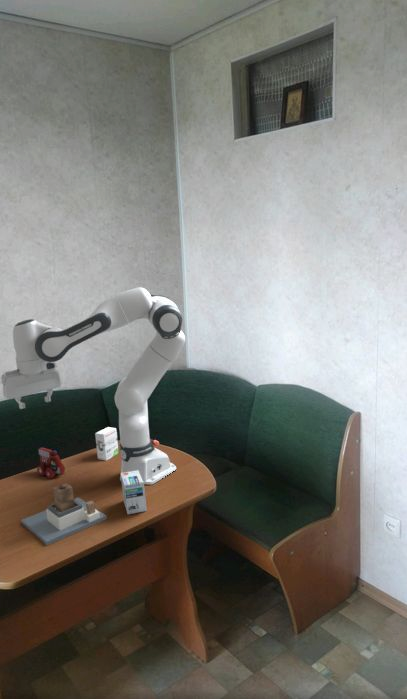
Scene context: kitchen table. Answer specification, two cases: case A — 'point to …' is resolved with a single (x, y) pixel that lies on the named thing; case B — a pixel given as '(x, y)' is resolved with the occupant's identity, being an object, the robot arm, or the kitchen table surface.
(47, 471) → the toy fire truck
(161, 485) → the kitchen table surface
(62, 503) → the walnut block
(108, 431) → the ink box
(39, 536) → the build plate
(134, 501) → the light bulb box
